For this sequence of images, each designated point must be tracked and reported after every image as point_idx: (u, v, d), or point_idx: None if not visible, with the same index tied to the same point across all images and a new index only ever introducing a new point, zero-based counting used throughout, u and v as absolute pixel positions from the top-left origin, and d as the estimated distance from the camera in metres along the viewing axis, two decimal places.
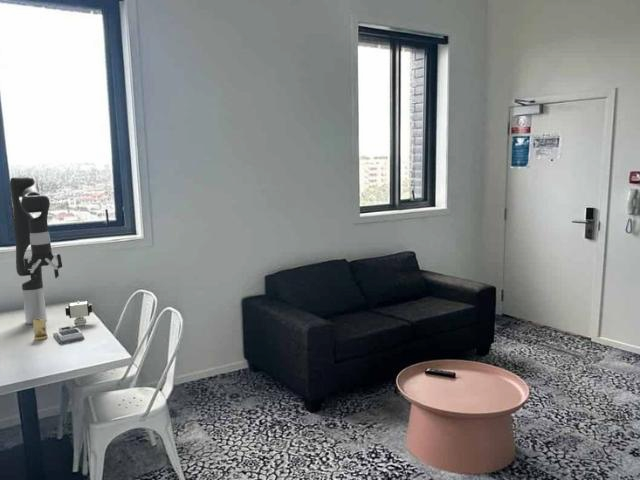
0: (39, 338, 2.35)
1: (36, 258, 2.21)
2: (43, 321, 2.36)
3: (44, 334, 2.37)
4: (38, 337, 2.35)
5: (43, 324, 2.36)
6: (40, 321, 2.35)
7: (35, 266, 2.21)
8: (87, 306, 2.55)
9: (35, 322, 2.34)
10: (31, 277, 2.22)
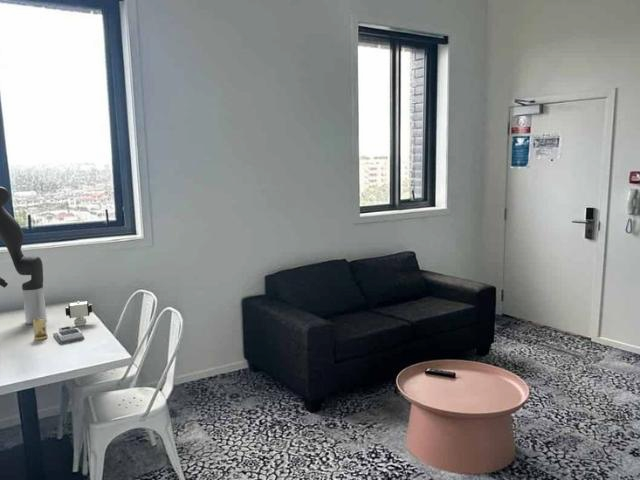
0: (39, 338, 2.35)
1: None
2: (43, 321, 2.36)
3: (44, 334, 2.37)
4: (38, 337, 2.35)
5: (43, 324, 2.36)
6: (40, 321, 2.35)
7: None
8: (87, 306, 2.55)
9: (35, 322, 2.34)
10: None
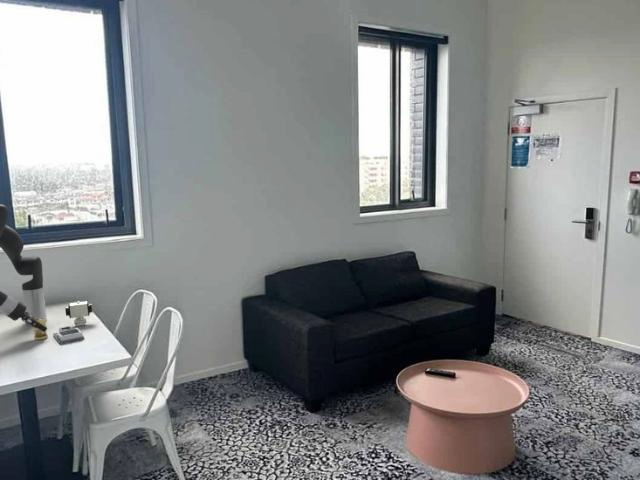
0: (39, 338, 2.35)
1: None
2: (43, 321, 2.36)
3: (44, 334, 2.36)
4: (38, 337, 2.35)
5: (43, 324, 2.36)
6: (40, 321, 2.35)
7: None
8: (87, 306, 2.55)
9: None
10: None
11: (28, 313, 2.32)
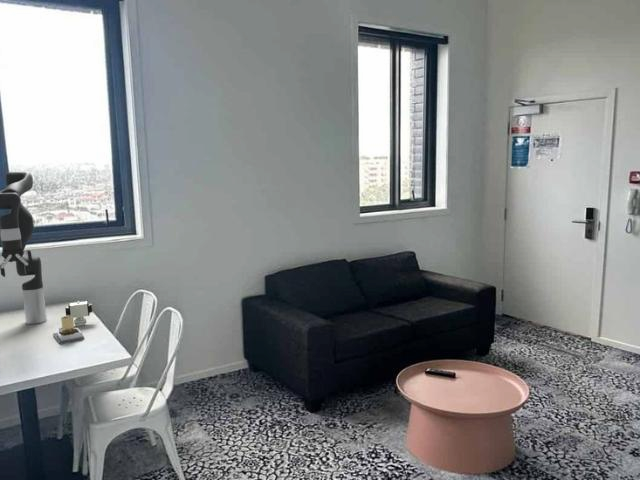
0: None
1: (6, 254, 2.27)
2: (71, 319, 2.33)
3: (72, 332, 2.34)
4: None
5: (71, 322, 2.33)
6: (68, 319, 2.32)
7: (5, 261, 2.27)
8: (87, 306, 2.55)
9: (63, 320, 2.32)
10: (1, 272, 2.27)
11: None
